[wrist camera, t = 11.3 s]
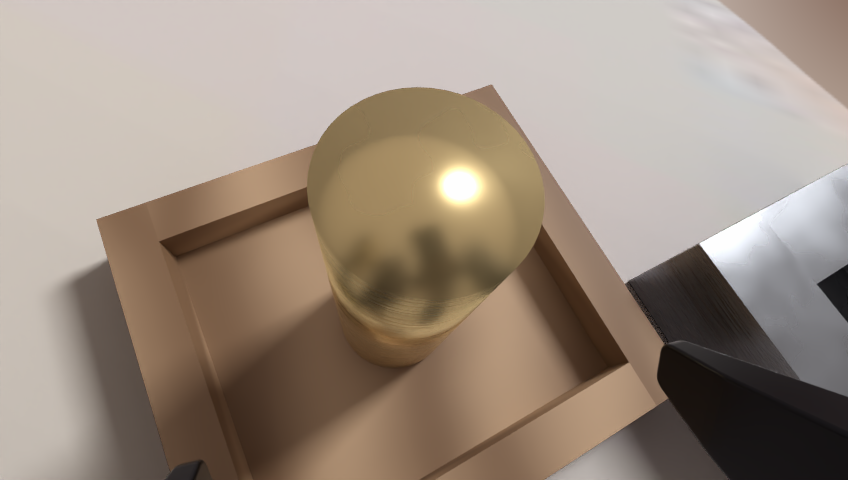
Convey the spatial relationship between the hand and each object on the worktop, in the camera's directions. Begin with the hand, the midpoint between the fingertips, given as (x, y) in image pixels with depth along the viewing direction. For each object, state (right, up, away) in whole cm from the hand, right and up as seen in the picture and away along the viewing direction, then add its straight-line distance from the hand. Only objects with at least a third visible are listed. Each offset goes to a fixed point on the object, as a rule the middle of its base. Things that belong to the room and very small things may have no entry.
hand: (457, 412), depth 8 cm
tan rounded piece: (-2, +1, +8) cm, 8 cm away
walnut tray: (-2, 0, +9) cm, 9 cm away
